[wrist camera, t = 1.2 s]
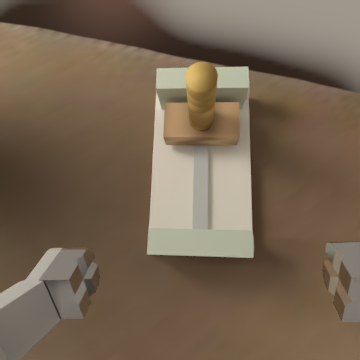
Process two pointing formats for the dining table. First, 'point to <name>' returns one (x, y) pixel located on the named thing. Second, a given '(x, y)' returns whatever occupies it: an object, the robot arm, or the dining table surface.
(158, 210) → the track
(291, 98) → the dining table surface
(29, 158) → the dining table surface
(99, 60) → the dining table surface
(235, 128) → the carriage
